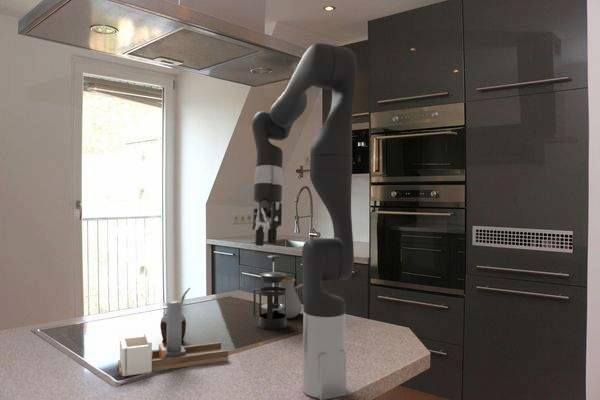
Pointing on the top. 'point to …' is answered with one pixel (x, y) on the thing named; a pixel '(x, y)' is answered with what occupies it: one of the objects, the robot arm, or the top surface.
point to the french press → (272, 301)
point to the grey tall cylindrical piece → (173, 331)
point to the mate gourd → (164, 325)
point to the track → (188, 357)
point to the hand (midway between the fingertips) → (265, 244)
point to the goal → (136, 355)
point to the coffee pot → (290, 298)
